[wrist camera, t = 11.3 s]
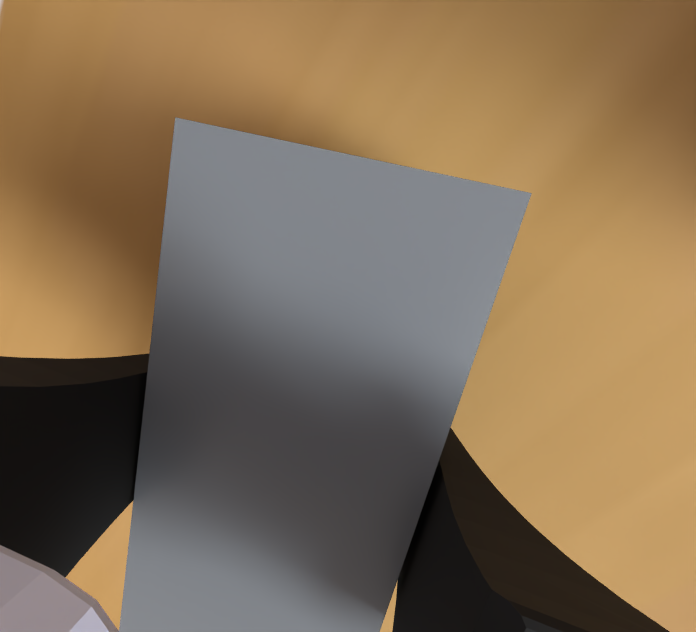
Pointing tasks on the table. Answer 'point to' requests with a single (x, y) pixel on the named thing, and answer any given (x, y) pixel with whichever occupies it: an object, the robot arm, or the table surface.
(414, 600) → the robot arm
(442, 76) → the table surface
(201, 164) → the tall grey brick
